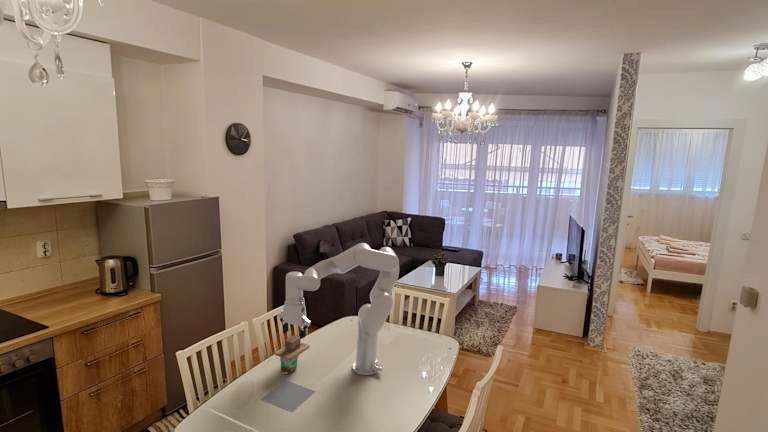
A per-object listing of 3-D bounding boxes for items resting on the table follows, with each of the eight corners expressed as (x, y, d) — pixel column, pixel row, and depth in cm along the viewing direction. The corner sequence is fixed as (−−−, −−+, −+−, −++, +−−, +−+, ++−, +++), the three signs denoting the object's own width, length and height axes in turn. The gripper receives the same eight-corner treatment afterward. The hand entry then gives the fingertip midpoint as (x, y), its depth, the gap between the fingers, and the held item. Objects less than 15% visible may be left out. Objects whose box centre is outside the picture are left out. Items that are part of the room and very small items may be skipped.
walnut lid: (309, 347, 190) (310, 335, 189) (290, 360, 178) (290, 347, 177) (294, 342, 194) (294, 330, 193) (274, 354, 182) (274, 342, 181)
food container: (292, 379, 181) (293, 358, 180) (279, 376, 183) (280, 356, 181) (303, 365, 193) (304, 345, 192) (291, 363, 194) (291, 343, 193)
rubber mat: (315, 392, 173) (315, 391, 173) (291, 413, 159) (292, 412, 159) (285, 381, 180) (285, 380, 179) (260, 400, 165) (260, 399, 165)
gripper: (315, 300, 182) (314, 336, 185) (284, 293, 189) (284, 327, 192) (305, 306, 175) (304, 343, 178) (273, 298, 182) (273, 333, 185)
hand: (294, 334), depth 185 cm, fingers open, 9 cm apart
